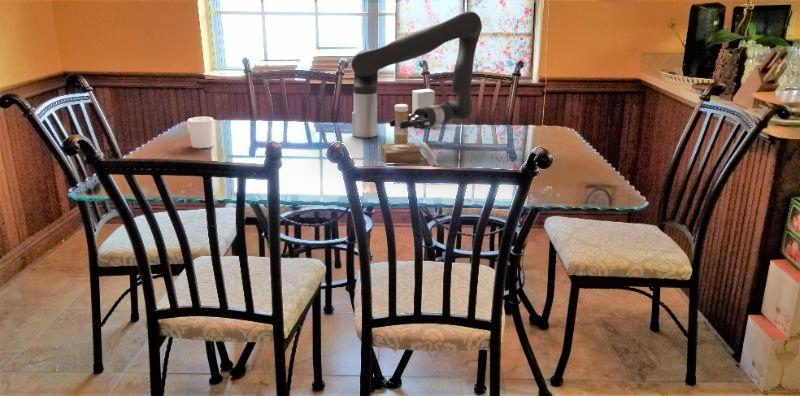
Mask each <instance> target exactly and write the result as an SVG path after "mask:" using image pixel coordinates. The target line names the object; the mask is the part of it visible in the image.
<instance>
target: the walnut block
mask: <svg viewBox="0 0 800 396" xmlns="http://www.w3.org/2000/svg"><path fill="white" fill-rule="evenodd" d="M420 150H421V149H419V148H418V147H417V145H416V144H415V143H414V142H413V143H410V142H408V143H407V144H403V145H400V144H396V143H385V144H381V145H380V155H382V156H381V158H382V157H383V158H384V160H385V161H384V160H383V161H384V163H385V162H386V163H410V164H409V165H411V163H415V164H420V163H419V162H421V163H422V155H421V151H420ZM383 158H382V159H383ZM386 163H385V164H386Z"/></svg>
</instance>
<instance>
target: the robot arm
mask: <svg viewBox="0 0 800 396" xmlns="http://www.w3.org/2000/svg"><path fill="white" fill-rule="evenodd" d="M482 29H483V24H482V20H481V17H480V16H479V15H478V13H476V12H474V11H470V10H469V11H467V10H466V11H464V12H462V13H461V12H460V13H459V14H458V15H455V16H453V17H452V18H449V19H447V20H445V21H443V22H440V23H437V24H434V25H431V26H428V27H427V26H426V27H424V28H422V29H418V30H416V31H413V32H410V33H407V34H405V35H403V36H401V37H398V38H396V39H394V40H392V41H391V42H389V43H388V44H386V45H383V46H380V47H377V48H375V49H370V50H367V49H363V50H360V51H358V52H357V53H356V54H355V55H354V56H353V58H352V60H351V69H352V70H353V73H354V79H353V85H352V86H353V91H352V94H353V111H352V112H351V124H352V125H351V126H352V127H351V128H352V129H351V130H352V133H351V134H352V137H356V138H363V139H364V138H367V139H368V137H369V138H374V136H375V137H376V136H378V77H379V75H378V73H379V70H382V69H383V68H386V67H388V66H392V65H394V64H398V63H402V62H406V61H409V60H413V59H417V58H419V57H422V56H424V55H427V54H430V53H431V52H432V51H435V50H436V49H437V48H439V47H440V46H442V45H443V44H446V43H447V42H450V41H453V40H455V39H458V41H459V42H458V52H457V56H456V57H457V58H456V61H455V65H454V69H453V74H452V75H453V76H452V80H451V92H452V93H454V94H456V95H458V98H459V100H455V99H453V100H452V99H451V100H448V101H444V102H442V103H440V104H434V105H432V106H427V107H422V108H418V109H416V110H415V112H414V114H412V113H408V121H405V122H401V123H400V129H405V128H408V129H412V128H413V129H420V130H424V129H428V128H433V127H437V126H440V125H441V124H442V125H443V124H446V123H448V122H450V121H451V120H468V118H469V117H471V115H472V112H473V103H472V94H471V86H472V78H473V70H474V68H473V67H474V60H475V53H476V48H477V44H478V42H479V38H480V35H481V32H482ZM389 127H391V128H393V127H395V116H394V119H391V120H389Z"/></svg>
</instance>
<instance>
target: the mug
mask: <svg viewBox="0 0 800 396" xmlns="http://www.w3.org/2000/svg"><path fill="white" fill-rule="evenodd" d="M186 126H187V130H188V131H187V132H188V133H189V136H190V143H191V144H190V145H191V147H192V148H193V147H195V148H208V149H211V148H210V147H212V148H213V146H215V127H214V126H215V125H214V118H213V117H210V116H195V117H190V118H188V119H187V121H186Z"/></svg>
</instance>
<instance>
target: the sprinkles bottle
mask: <svg viewBox="0 0 800 396" xmlns="http://www.w3.org/2000/svg"><path fill="white" fill-rule="evenodd" d="M408 111H409V105H408V104H406V103H398V104H397V103H396V104H395V105H394V112H395V113H394V114H395V115H394V117H395V126H394V135H395V137H394V144H400V145H403V144H407V143H409V142H408V139H409V138H408V135H409V133H408V130H409V128H405V129H400V123H401V122H405V121H408V115H409V113H408Z"/></svg>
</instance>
